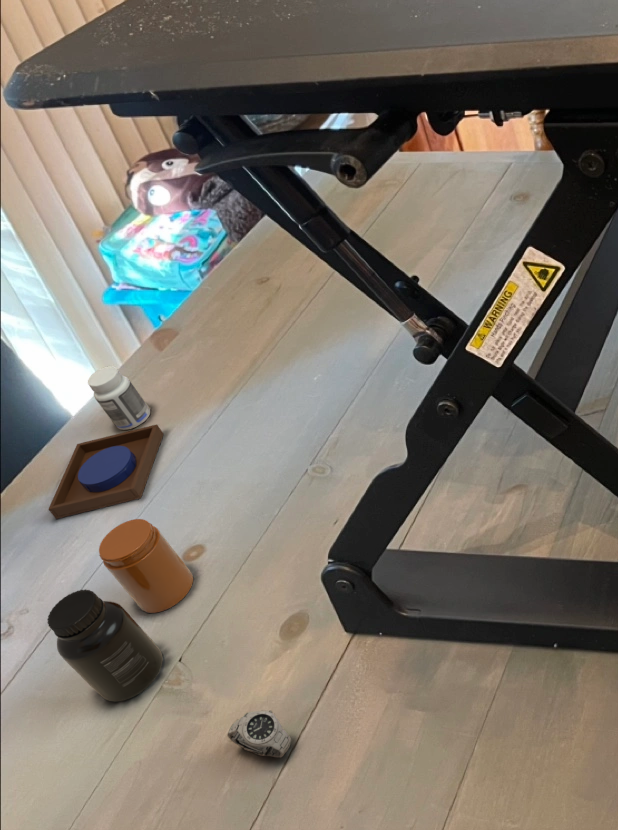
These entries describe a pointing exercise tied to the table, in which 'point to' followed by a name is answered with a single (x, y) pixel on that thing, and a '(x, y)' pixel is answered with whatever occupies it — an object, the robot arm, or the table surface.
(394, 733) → the table surface
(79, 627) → the supplement bottle
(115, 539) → the jam jar
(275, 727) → the wristwatch
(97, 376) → the pill bottle
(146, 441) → the walnut tray
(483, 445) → the table surface
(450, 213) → the table surface
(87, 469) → the jar lid
